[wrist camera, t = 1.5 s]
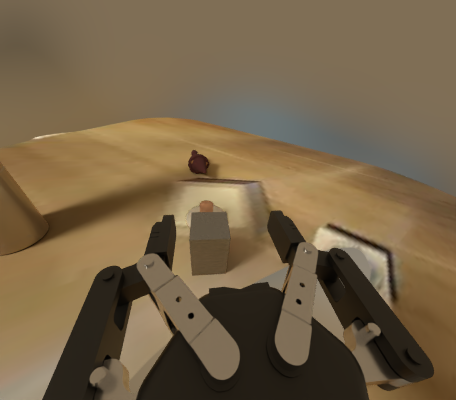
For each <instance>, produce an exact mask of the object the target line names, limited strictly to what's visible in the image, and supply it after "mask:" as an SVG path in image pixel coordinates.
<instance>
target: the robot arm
mask: <svg viewBox="0 0 456 400" xmlns="http://www.w3.org/2000/svg"><path fill="white" fill-rule="evenodd" d="M267 228H268V232H269V234H270V236H271V238H272V240H273V243H274V245H275V247H276V249H277V251H278V254H279V256H280V258H281V260H282V262H283V263H289V265H290V266H289V268H288V271H287V274H286V278H285V282H284V284H283V288H282V290H281V291H280V290H278V289H276V288H272V287H270V286H269V284H268V282H265V283H257V284H252V285H250V286H247V287H245V288H242V289H235V288H228V287H219V288H210V289H209V294H206V295H204V296H203V297H201V298H200V299H199V300H198V299H197V297H196V296H195V295H194V294H193V293H192V291H191V290H190V289H189V288H188V287H187V285H186V284H185V283H184V282H183V281H182V279H181V278H180V277H179V276H178V275H176V276H175V275H174V274H173V273H172V264H173V256H174V249H175V241H176V226H175V219H174V215H164V216H163V219H162V222H156V223H155V225H154V226H153V227H152V230H151V234H150V238H149V240H148V244H147V247H146V251H145V254H144V256H143V257H142V258H140V259H139V261H138V263H136V264H134V265H132V266H129V267H126V268H123V269H121V268H120V267H118V266H109V267H107V268H105V269H103V270H101V271H100V272H99V273H98V274H97V275H96V277H95V279H94V281H93V284H92V286H91V288H90V290H89V293H88V295H87V297H86V300H85V302H84V304H83V307H82V309H81V311H80V314H79V316H78V318H77V321H76V323H75V325H74V327H73V330H72V332H71V334H70V337H69V339H68V341H67V344H66V346H65V348H64V351H63V353H62V355H61V358H60V360H59V362H58V364H57V367H56V369H55V371H54V374H53V376H52V378H51V381H50V383H49V385H48V388H47V390H46V392H45V395H44V397H43V399H42V400H369V397H368V393H367V387H366V386H370V385H377V386H379V387H380V388H382V389H384V390H386V391H391V390H394V389H397V388H400V387H403V386H406V385H409V384H413V383H416V382H419V381H422V380H425V379H428V378H430V377H432V376H433V374H434V368H433V365H432V363H431V361H430V359H429V358H428V357H427V355H426V354H425V353H424V351H423V350H422V349H421V347H420V346H419V345H418V344H417V342H416V341H415V340H414V338H413V337H412V336H411V335H410V333H409V332H408V331H407V329H406V328H405V327H404V326H403V324H402V323H401V322H400V320H399V319H398V318H397V316H396V315H395V314H394V313H393V311H392V310H391V309H390V307H389V306H388V305H387V304H386V302H385V301H384V300H383V298H382V297H381V296H380V295H379V293H378V292H377V291H376V289H375V288H374V287H373V286H372V284H371V283H370V282H369V280H368V279H367V278H366V277H365V275H364V274H363V273H362V271H361V270H360V269H359V268H358V266H357V265H356V264H355V262H354V261H353V260H352V259H351V257H350V256H349V255H348V254H347V253H346V252H345V251H343V250H341V249H338V248H332V249H330V251H329V252H325V251H320V250H317V249H316V247H315V246H313V245H312V244H310V243H307V242H306V241H305V239H304V238H303V236H302V235H301V233H300V232H299V230H298V229H297V227H296V226H295V224H294V223H293V221H292V220H291V219H290V218H289V217H287V216H284V215H283V213H282V211H280V210H279V211H271V213H270V217H269V221H268V225H267ZM48 229H49V225H48V223H47V222H46V221H45V219H44V218H43V217H42V215H41V214H40V213H39V211H38V210H37V209H36V207H35V206H34V205H33V203H32V202H31V201H30V200H29V198H28V197H27V196H26V194H25V193H24V192H23V190H22V189H21V188H20V186H19V185H18V184H17V183H16V181H15V180H14V179H13V177H12V176H11V175H10V173H9V172H8V171H7V170H6V168H5V167H4V166H3V165H2V163H1V162H0V255H5V254H10V253H13V252H17V251H19V250H22V249H24V248H26V247H28V246H30V245H32V244H34V243H35V242H37V241H38V240H40V239H41V238H42V237H43V236H44V235H45V234H46V233H47V231H48ZM339 278H340V279H339ZM317 279H318V281H319V282H320V285H321V286H322V288H323V290H324V292H325V294H326V296H327V298H328V300H329V302H330V303H331V305H332V307H333V309H334V311H335V313H336V315H337V316H338V319H339V320H340V322H341V324H342V326H343V328H344V333H343V337H344V340H345V344H344V343H343V342H341V341H340V340H339V339H338V338H337V337H335V336H334V335H333V334H332V333H331V332H330V331H328V330H327V329H326V328H325V327H324V326H323V325H321V324H320V323H319V322H318V321H316V320H315V319H314V318H313V317H312V311H313V303H314V297H315V289H316V281H317ZM340 280H341V281H340ZM342 283H343V284H342ZM344 286H345V287H344ZM147 294H148V295H149V297H150V299H151V300H152V302H153V303H154V305H155V307H156V308H157V310H158V311H159V313H160V315H161V316H162V318H163V320H164V322H165V324H166V326H167V327H168V329H169V331H170V332H171V334H172V335H173V337H172V338H171V340H170V341H169V343H168V344H167V346H166V347H165V349H164V350H163V352H162V353H161V355H160V356H159V358H158V360H157V361H156V362H155V364H154V366H153V367H152V369H151V370H150V372H149V373H148V375H147V376H146V378H145V379H144V381H143V383H142V385H141V387H140V389H139V392H138V393H131V391H130V388H129V372H128V370H127V368H126V367H125V366H124V365H123V364H122V363H121V362H120V361H119V359H120V355H121V351H122V346H123V342H124V337H125V333H126V328H127V324H128V319H129V315H130V310H131V306H132V301H133V300H135V299H138V298H140V297H142V296H145V295H147Z"/></svg>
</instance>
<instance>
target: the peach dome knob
mask: <svg viewBox="0 0 456 400" xmlns="http://www.w3.org/2000/svg"><path fill="white" fill-rule="evenodd" d="M200 212H213V203H212V202H211V201H202V202H201V203H200Z"/></svg>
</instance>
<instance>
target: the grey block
mask: <svg viewBox="0 0 456 400" xmlns="http://www.w3.org/2000/svg"><path fill="white" fill-rule="evenodd" d="M230 239H231V238H230V232H229V226H228V220H227V214H226V212H191V225H190V240H189V241H190V254H191V266H192V276H193V275H208V274H223V273H226V267H227V260H228V253H229V246H230Z"/></svg>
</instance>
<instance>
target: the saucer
mask: <svg viewBox="0 0 456 400" xmlns="http://www.w3.org/2000/svg"><path fill="white" fill-rule="evenodd" d="M191 212H200V205H199V206H196V207H194V208H192V209H191V210H189V212H188V213H187V215H186V223H187V225H188V227H189V228H190V225H191ZM213 212H224V211H223V210H222V209H221V208H219V207H217V206H214V205H213Z"/></svg>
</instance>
